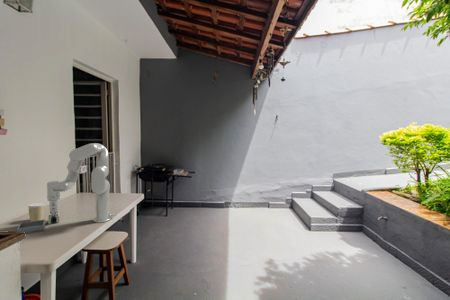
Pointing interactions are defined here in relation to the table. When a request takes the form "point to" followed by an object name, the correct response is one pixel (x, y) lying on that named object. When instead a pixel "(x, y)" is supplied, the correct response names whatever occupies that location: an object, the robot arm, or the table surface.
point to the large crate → (31, 226)
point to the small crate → (56, 219)
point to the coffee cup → (36, 211)
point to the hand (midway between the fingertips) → (53, 221)
